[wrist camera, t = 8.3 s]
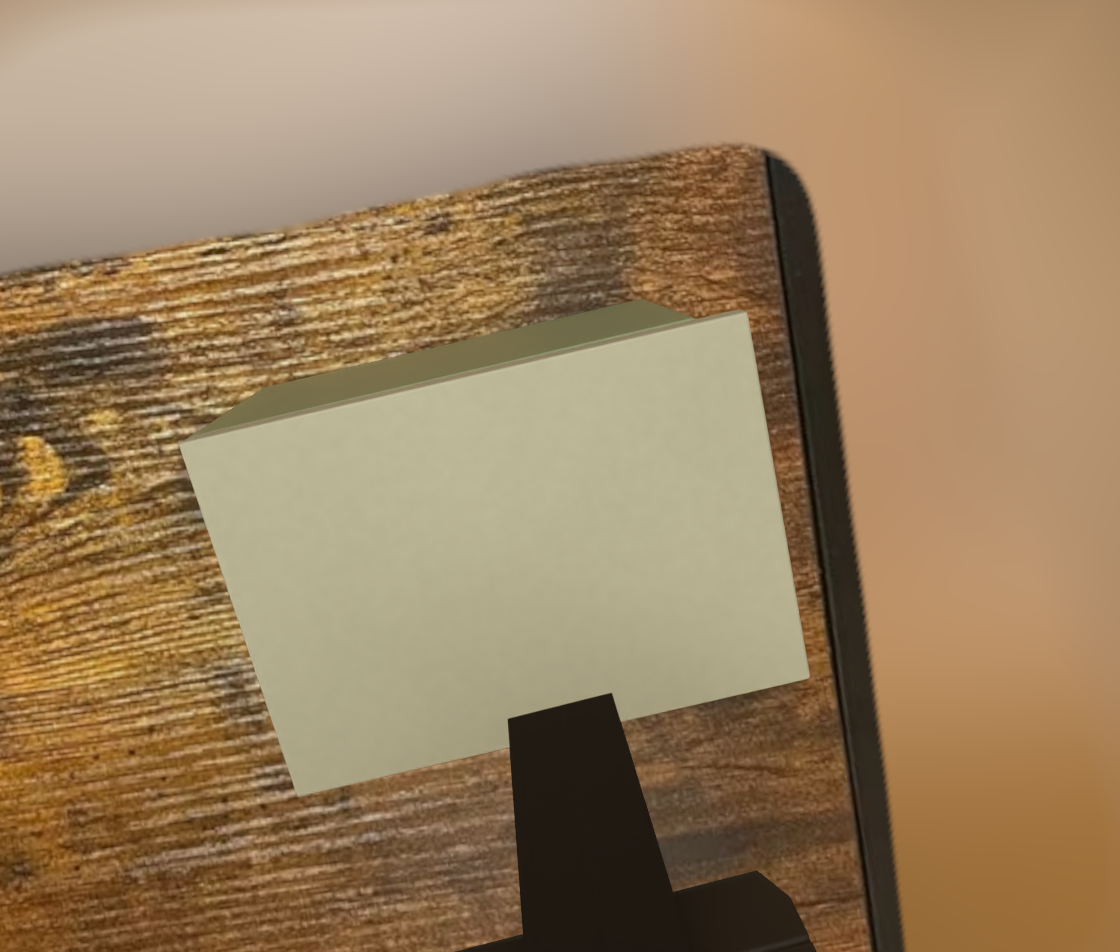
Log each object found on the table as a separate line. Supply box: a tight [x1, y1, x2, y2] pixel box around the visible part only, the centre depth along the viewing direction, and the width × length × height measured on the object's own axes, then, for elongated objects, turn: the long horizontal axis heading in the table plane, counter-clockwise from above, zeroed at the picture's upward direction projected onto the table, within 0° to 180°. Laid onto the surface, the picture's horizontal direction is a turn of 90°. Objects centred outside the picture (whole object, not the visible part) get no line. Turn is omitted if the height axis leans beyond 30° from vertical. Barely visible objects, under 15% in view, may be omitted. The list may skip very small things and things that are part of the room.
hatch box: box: [192, 299, 695, 436], centre depth 28 cm, size 13×10×8 cm
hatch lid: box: [179, 310, 810, 796], centre depth 24 cm, size 14×10×1 cm
